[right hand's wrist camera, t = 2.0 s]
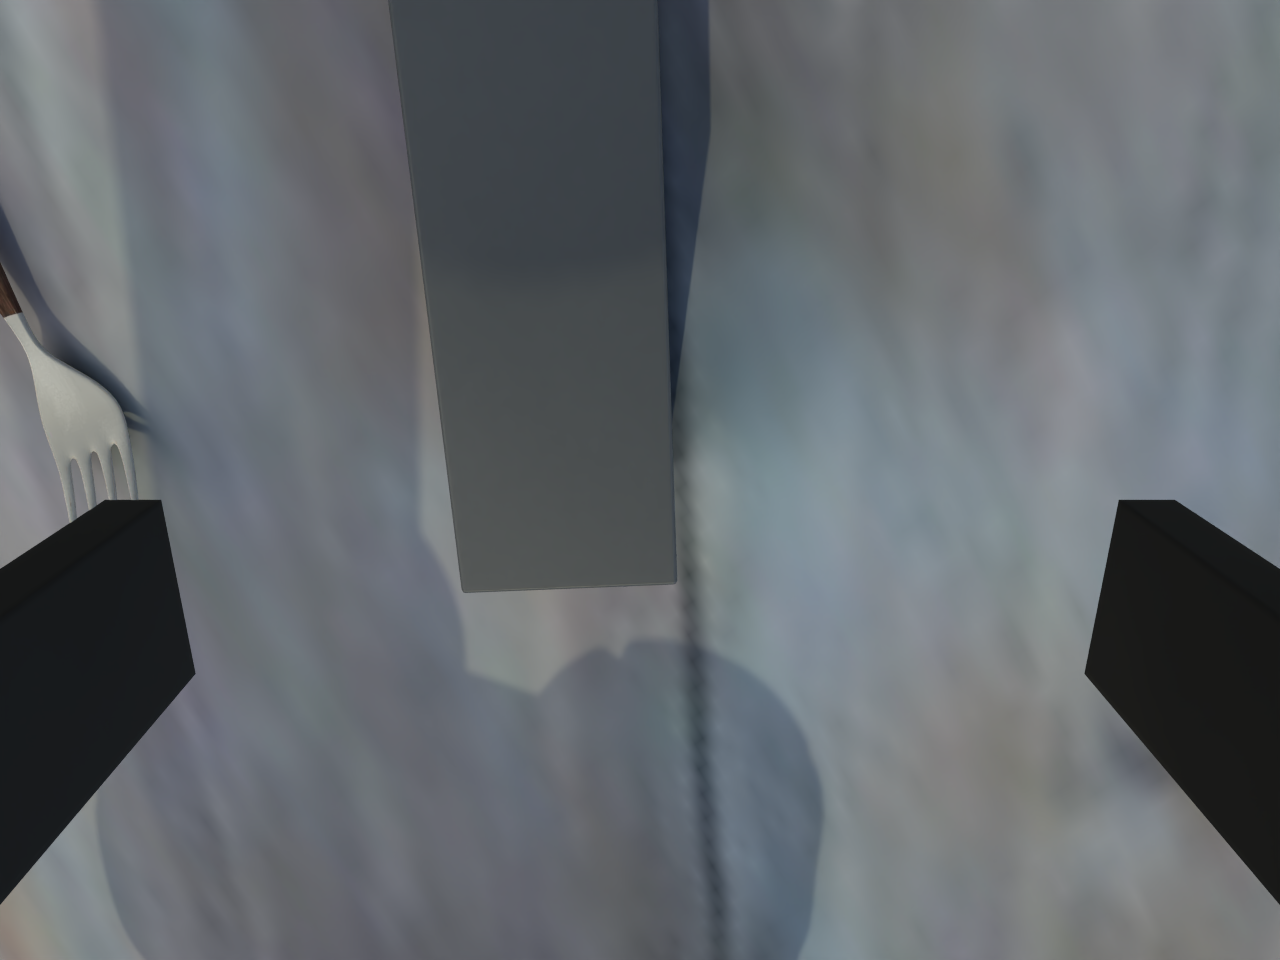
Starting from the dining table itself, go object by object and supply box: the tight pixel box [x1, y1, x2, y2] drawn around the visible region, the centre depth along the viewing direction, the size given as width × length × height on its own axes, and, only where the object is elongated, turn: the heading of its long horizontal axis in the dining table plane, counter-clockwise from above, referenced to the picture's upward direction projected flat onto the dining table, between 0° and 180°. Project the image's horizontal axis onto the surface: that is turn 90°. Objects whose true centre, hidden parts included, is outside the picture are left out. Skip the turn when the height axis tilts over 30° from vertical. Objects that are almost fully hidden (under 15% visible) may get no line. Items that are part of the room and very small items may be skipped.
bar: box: [388, 0, 677, 593], centre depth 20 cm, size 24×5×8 cm, turn 3°
